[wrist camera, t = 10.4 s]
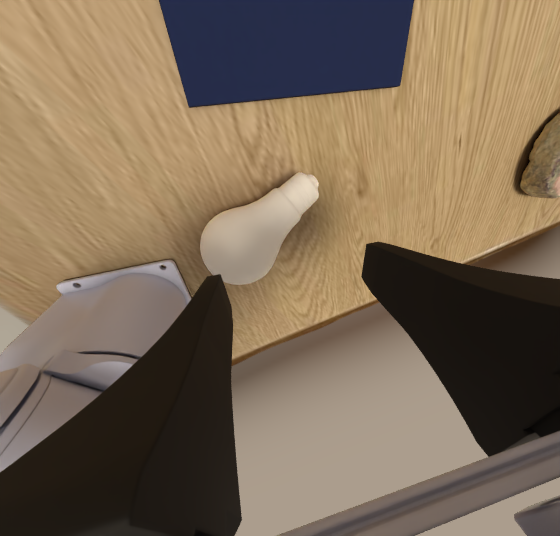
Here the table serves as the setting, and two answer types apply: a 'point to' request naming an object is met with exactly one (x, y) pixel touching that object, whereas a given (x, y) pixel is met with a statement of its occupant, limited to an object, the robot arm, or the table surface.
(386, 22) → the cloth
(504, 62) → the table surface
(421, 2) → the table surface
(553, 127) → the stone ring
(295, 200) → the lightbulb
